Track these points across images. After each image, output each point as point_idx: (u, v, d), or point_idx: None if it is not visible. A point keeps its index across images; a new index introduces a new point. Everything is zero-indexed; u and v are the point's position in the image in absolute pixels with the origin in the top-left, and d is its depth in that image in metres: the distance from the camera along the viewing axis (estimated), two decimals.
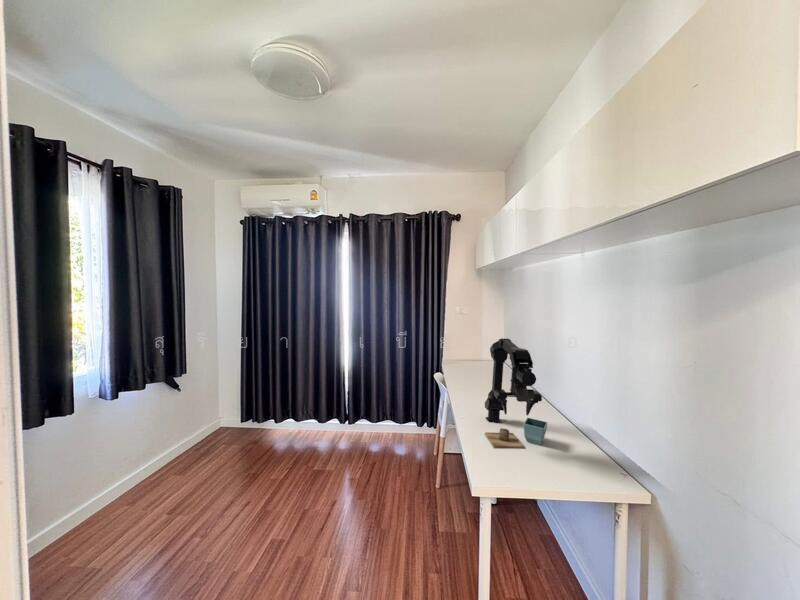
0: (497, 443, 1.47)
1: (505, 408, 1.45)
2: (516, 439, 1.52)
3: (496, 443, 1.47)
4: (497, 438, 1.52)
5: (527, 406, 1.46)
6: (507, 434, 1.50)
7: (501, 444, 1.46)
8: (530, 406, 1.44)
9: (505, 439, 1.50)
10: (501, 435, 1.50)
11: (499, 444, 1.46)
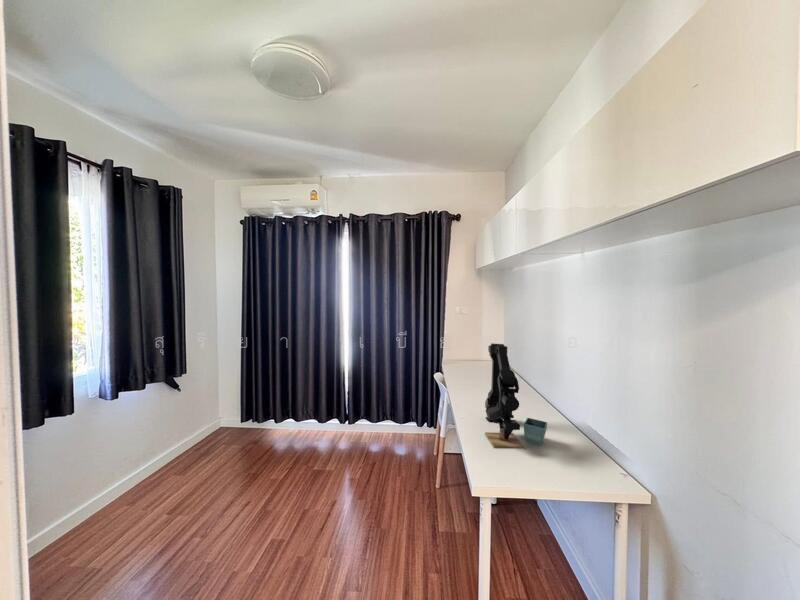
0: (497, 443, 1.47)
1: None
2: (516, 439, 1.52)
3: (496, 443, 1.47)
4: (497, 438, 1.52)
5: None
6: None
7: (501, 444, 1.46)
8: None
9: (505, 439, 1.50)
10: (501, 435, 1.50)
11: (499, 444, 1.46)
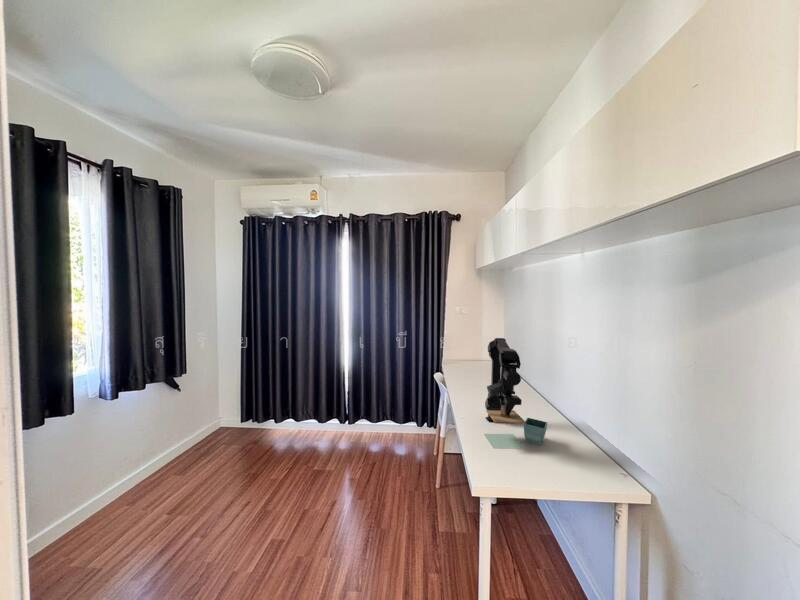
0: (498, 419, 1.46)
1: (501, 404, 1.53)
2: (517, 416, 1.51)
3: (497, 419, 1.47)
4: (499, 415, 1.51)
5: None
6: None
7: (503, 420, 1.45)
8: (505, 406, 1.48)
9: None
10: (502, 411, 1.50)
11: (500, 420, 1.46)
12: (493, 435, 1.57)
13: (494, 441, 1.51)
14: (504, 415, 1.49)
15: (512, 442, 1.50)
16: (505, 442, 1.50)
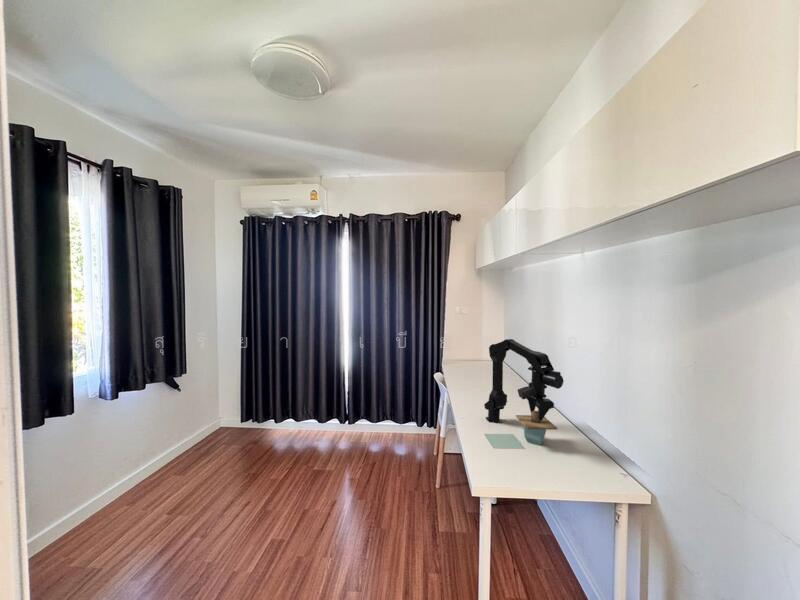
0: (530, 424, 1.47)
1: (529, 406, 1.56)
2: (548, 421, 1.52)
3: (529, 424, 1.47)
4: (529, 420, 1.52)
5: None
6: None
7: (534, 426, 1.46)
8: (538, 411, 1.47)
9: (537, 421, 1.50)
10: (533, 417, 1.51)
11: (532, 425, 1.47)
12: (493, 435, 1.57)
13: (494, 441, 1.51)
14: (535, 420, 1.50)
15: (512, 442, 1.50)
16: (505, 442, 1.50)
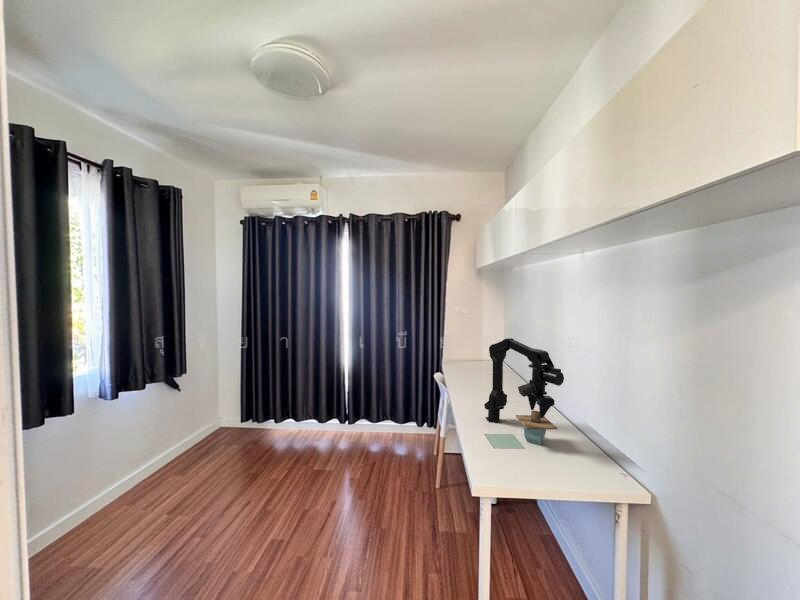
0: (530, 424, 1.47)
1: (529, 403, 1.57)
2: (548, 421, 1.52)
3: (529, 424, 1.47)
4: (529, 420, 1.52)
5: None
6: (539, 416, 1.50)
7: (534, 426, 1.46)
8: (539, 408, 1.46)
9: (537, 421, 1.50)
10: (533, 417, 1.51)
11: (532, 425, 1.47)
12: (493, 435, 1.57)
13: (494, 441, 1.51)
14: (535, 420, 1.50)
15: (512, 442, 1.50)
16: (505, 442, 1.50)
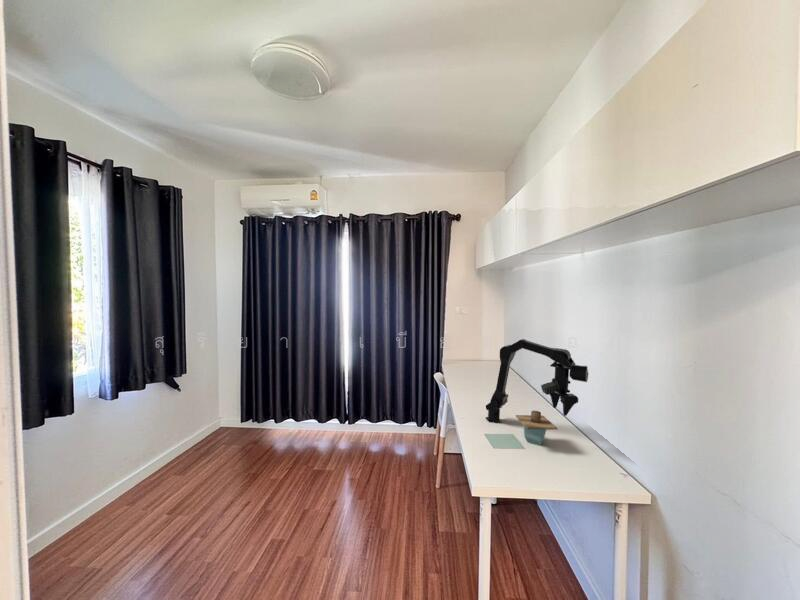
0: (530, 425, 1.47)
1: (552, 401, 1.60)
2: (548, 421, 1.52)
3: (529, 424, 1.47)
4: (529, 420, 1.52)
5: None
6: (539, 416, 1.50)
7: (534, 426, 1.46)
8: (563, 406, 1.49)
9: (537, 421, 1.50)
10: (533, 417, 1.51)
11: (532, 425, 1.47)
12: (493, 435, 1.57)
13: (494, 441, 1.51)
14: (535, 420, 1.50)
15: (512, 442, 1.50)
16: (505, 442, 1.50)
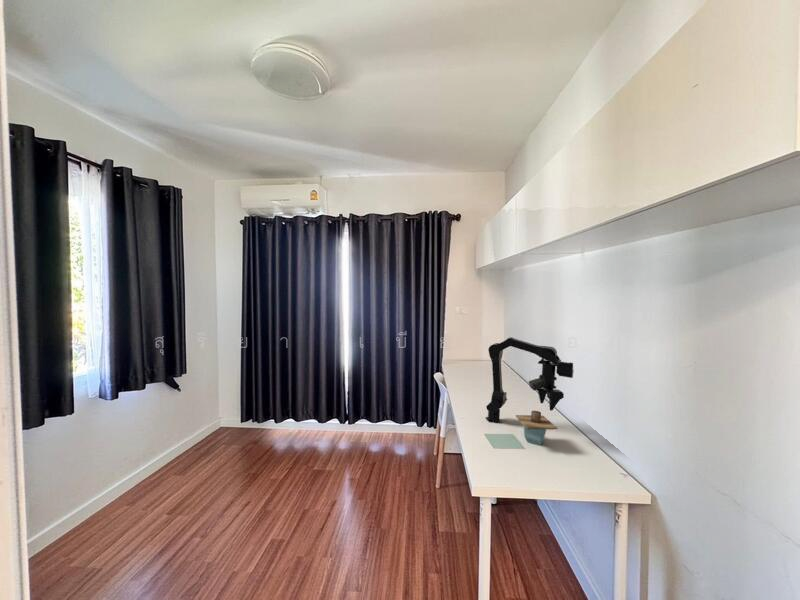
0: (530, 424, 1.47)
1: (539, 396, 1.66)
2: (548, 421, 1.52)
3: (529, 424, 1.47)
4: (529, 420, 1.52)
5: None
6: (539, 416, 1.50)
7: (534, 426, 1.46)
8: (549, 401, 1.56)
9: (537, 421, 1.50)
10: (533, 417, 1.51)
11: (532, 425, 1.47)
12: (493, 435, 1.57)
13: (494, 441, 1.51)
14: (535, 420, 1.50)
15: (512, 442, 1.50)
16: (505, 442, 1.50)
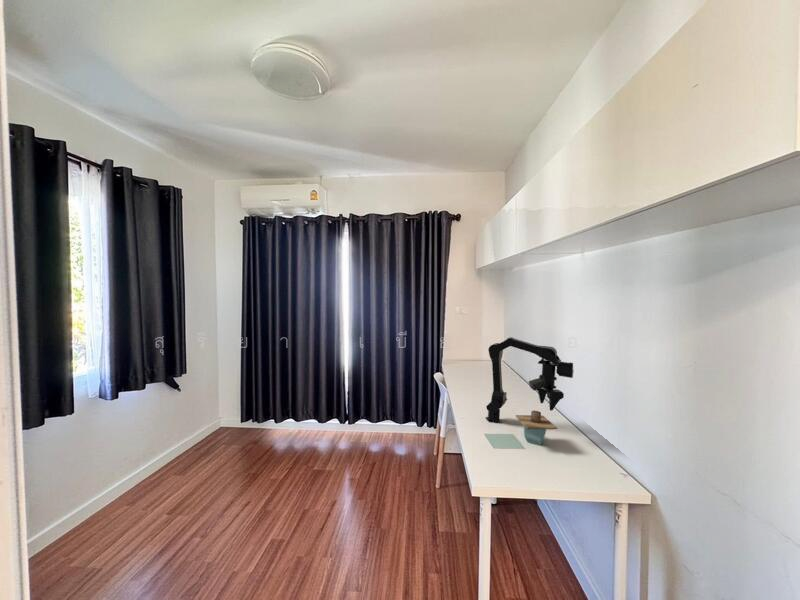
0: (530, 425, 1.47)
1: (539, 396, 1.66)
2: (548, 421, 1.52)
3: (529, 424, 1.47)
4: (529, 420, 1.52)
5: None
6: (539, 416, 1.50)
7: (534, 426, 1.46)
8: (549, 401, 1.56)
9: (537, 421, 1.50)
10: (533, 417, 1.51)
11: (532, 425, 1.47)
12: (493, 435, 1.57)
13: (494, 441, 1.51)
14: (535, 420, 1.50)
15: (512, 442, 1.50)
16: (505, 442, 1.50)
